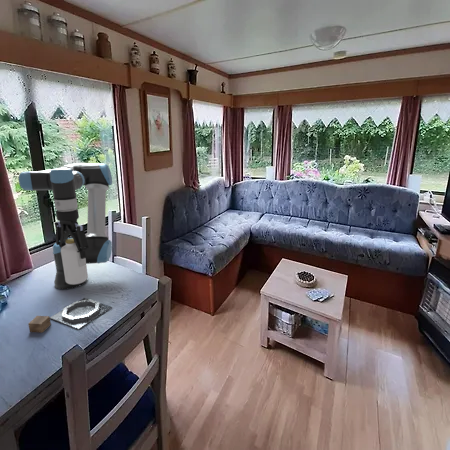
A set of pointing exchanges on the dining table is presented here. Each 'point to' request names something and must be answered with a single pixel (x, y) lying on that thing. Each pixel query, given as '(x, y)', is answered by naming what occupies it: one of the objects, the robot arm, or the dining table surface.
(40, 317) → the walnut block
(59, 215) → the robot arm
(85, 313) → the ring seat
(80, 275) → the white plastic bottle
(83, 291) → the dining table surface
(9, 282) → the dining table surface
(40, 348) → the dining table surface
